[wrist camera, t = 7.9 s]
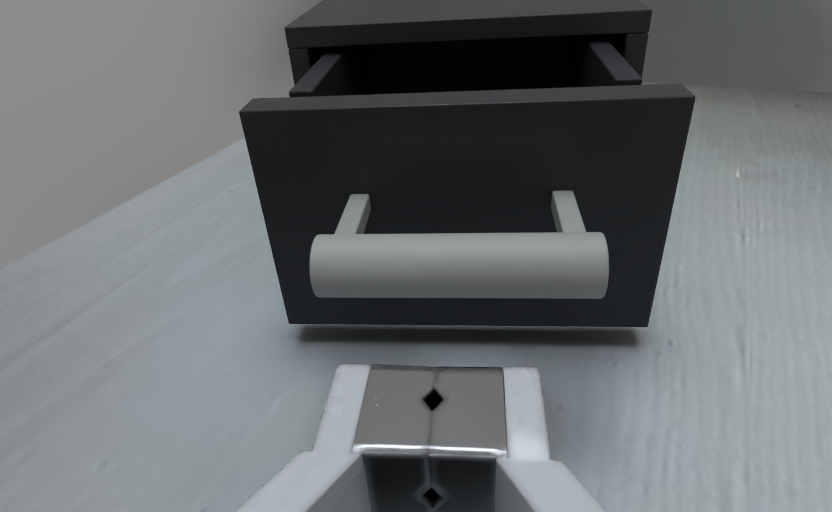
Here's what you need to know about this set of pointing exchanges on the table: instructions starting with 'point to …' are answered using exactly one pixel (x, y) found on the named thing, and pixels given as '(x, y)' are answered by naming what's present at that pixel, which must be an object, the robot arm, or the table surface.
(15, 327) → the table surface
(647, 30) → the box
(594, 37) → the drawer
